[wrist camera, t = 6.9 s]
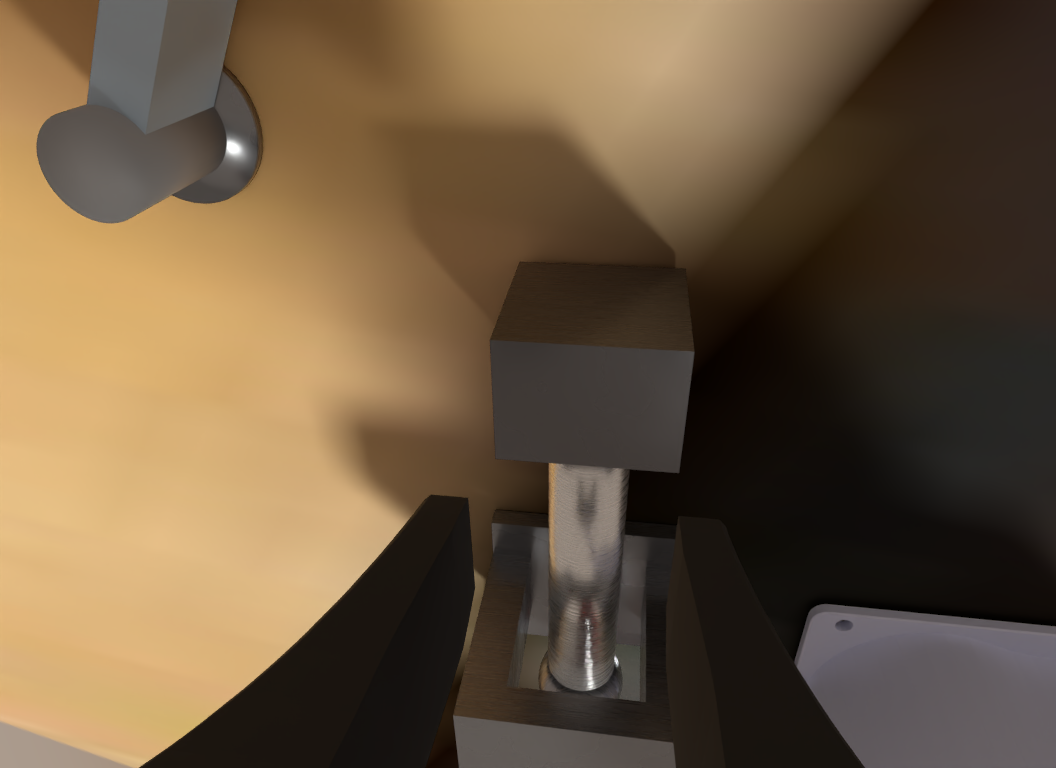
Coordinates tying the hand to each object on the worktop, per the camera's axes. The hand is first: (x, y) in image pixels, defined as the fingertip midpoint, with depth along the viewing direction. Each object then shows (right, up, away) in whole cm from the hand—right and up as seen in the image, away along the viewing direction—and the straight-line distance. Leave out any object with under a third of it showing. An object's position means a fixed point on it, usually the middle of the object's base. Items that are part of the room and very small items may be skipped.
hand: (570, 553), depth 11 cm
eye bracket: (+1, -4, +12) cm, 13 cm away
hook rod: (+1, 0, +10) cm, 10 cm away
